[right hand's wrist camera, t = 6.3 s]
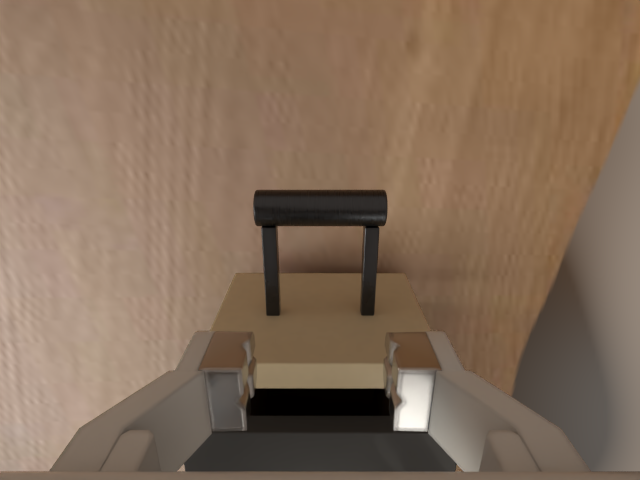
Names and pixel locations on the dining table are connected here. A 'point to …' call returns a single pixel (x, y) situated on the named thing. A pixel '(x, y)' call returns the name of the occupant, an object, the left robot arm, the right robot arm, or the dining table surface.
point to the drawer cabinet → (320, 447)
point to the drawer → (320, 312)
